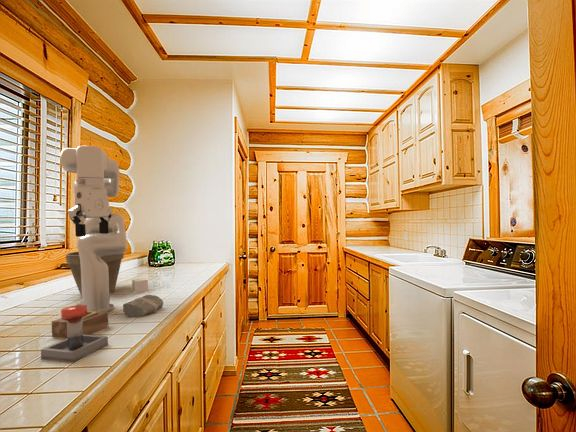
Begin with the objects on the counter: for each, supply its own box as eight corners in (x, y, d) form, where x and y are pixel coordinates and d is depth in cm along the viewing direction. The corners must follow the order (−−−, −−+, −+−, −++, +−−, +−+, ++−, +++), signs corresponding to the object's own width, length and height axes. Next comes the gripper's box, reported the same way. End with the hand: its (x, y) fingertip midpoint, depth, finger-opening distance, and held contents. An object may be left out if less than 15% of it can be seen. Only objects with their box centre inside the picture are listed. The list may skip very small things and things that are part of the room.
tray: (41, 358, 83) (40, 349, 83) (78, 342, 93) (78, 333, 93) (73, 362, 80) (72, 352, 80) (108, 344, 91) (107, 336, 91)
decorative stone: (144, 307, 129) (144, 293, 129) (166, 308, 127) (166, 293, 127) (123, 318, 116) (122, 302, 116) (147, 318, 114) (147, 302, 114)
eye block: (52, 336, 99) (51, 319, 99) (83, 324, 109) (82, 308, 109) (79, 339, 96) (78, 321, 96) (108, 326, 106) (107, 310, 106)
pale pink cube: (148, 291, 158) (147, 279, 158) (135, 293, 154) (134, 281, 154) (145, 289, 162) (144, 277, 162) (132, 291, 159) (132, 279, 159)
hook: (65, 355, 82) (63, 312, 82) (60, 349, 87) (59, 308, 87) (90, 347, 87) (89, 307, 87) (85, 342, 91) (84, 303, 91)
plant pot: (81, 302, 139) (79, 255, 139) (58, 296, 153) (56, 253, 153) (134, 290, 160) (133, 248, 160) (110, 285, 174) (108, 247, 174)
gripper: (78, 182, 93) (80, 238, 94) (119, 185, 110) (121, 232, 111) (57, 182, 95) (60, 237, 96) (101, 185, 112) (103, 232, 113)
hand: (92, 234), depth 103 cm, fingers open, 9 cm apart
